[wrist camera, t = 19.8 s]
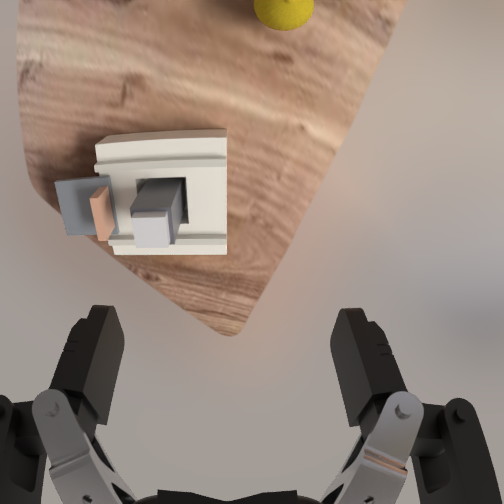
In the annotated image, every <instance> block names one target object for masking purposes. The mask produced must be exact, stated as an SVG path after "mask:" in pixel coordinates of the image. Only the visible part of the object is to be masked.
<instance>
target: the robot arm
mask: <svg viewBox="0 0 504 504" xmlns="http://www.w3.org/2000/svg"><path fill="white" fill-rule="evenodd" d="M388 344H389V343H388V340H387V338H386V336H385V333H384V331H383V330H382V329H381V328H380V327H379V326H378V325H377V324H376V323H375V321H371V322H368V321H367V318H366V316H365V313H364V311H363V309H362V308H345V309H341V310H340V311H339V314H338V317H337V320H336V323H335V326H334V329H333V332H332V335H331V340H330V347H331V353H332V357H333V361H334V365H335V369H336V372H337V377H338V381H339V384H340V389H341V393H342V397H343V401H344V405H345V409H346V413H347V417H348V422H349V426H350V427H353V426H359V425H360V429H361V434H360V435H359V437H358V439H357V441H356V443H355V445H354V447H353V449H352V450H351V452H350V454H349V456H348V458H347V459H346V461H345V463H344V465H343V467H342V468H341V470H340V472H339V474H338V475H337V476H336V478H335V479H334V481H333V482H332V483H331V484H330V486H329V487H328V489H327V490H326V492H325V493H324V495H323V496H322V498H321V499H320V501H317V500H314V499H311V498H308V497H304V496H298V495H297V490H293V491H281V492H267V493H260V494H257V495H253V496H249V497H245V498H241V499H237V500H233V501H222V500H218V499H214V498H209V497H206V496H202V495H199V494H195V493H191V492H177V491H167V490H158V493H157V494H158V495H154V496H150V497H146V498H143V499H140V500H137V498H136V497H135V495H134V494H133V492H132V491H131V489H130V488H129V487H128V485H127V484H126V483H125V482H124V480H123V479H122V478H121V477H120V475H119V474H118V472H117V471H116V469H115V467H114V466H113V464H112V462H111V460H110V459H109V457H108V455H107V453H106V452H105V450H104V448H103V446H102V444H101V443H100V441H99V439H98V437H97V435H96V434H95V430H96V425H97V424H102V425H107V421H108V416H109V411H110V406H111V401H112V397H113V392H114V388H115V383H116V379H117V375H118V370H119V366H120V362H121V358H122V354H123V350H124V334H123V331H122V328H121V325H120V322H119V319H118V316H117V313H116V310H115V308H114V306H105V305H93V306H92V308H91V310H90V312H89V315H88V317H87V319H84V318H81V319H80V320H79V321H78V322H77V323H76V324H75V325H74V326H73V327H72V329H71V331H70V334H69V336H68V339H67V342H66V344H65V346H64V349H63V350H64V351H63V352H62V354H61V357H60V359H59V362H58V365H57V368H56V370H55V373H54V377H53V379H52V382H51V385H50V387H49V389H48V390H45V391H43V392H41V393H40V394H39V395H37V397H36V398H35V400H34V401H27V402H19V403H12V402H11V401H10V400H9V399H8V398H7V397H6V396H4V395H0V504H41V496H42V486H43V478H44V471H45V465H46V458H47V455H48V457H49V460H50V462H51V468H50V469H49V473H50V477H51V479H52V481H53V484H54V486H55V488H56V490H57V492H58V494H59V496H60V498H61V500H62V502H63V504H395V502H396V500H397V498H398V496H399V494H400V492H401V489H402V487H403V485H404V483H405V480H406V477H407V473H408V471H407V469H405V465H406V462H407V460H408V457H409V456H411V458H412V463H413V467H414V472H415V477H416V482H417V487H418V493H419V498H420V504H502V500H501V496H500V491H499V487H498V483H497V479H496V475H495V471H494V467H493V464H492V461H491V457H490V453H489V450H488V447H487V444H486V440H485V437H484V434H483V431H482V428H481V425H480V422H479V419H478V417H477V414H476V411H475V409H474V407H473V405H472V404H471V403H469V402H468V401H467V400H465V399H462V398H455V399H452V400H451V401H449V402H448V403H447V404H446V405H445V406H442V405H433V404H425V403H422V402H421V401H420V400H419V399H418V398H417V397H416V396H415V395H413V394H412V393H409V392H408V391H407V389H406V386H405V384H404V381H403V378H402V376H401V373H400V371H399V368H398V365H397V363H396V360H395V358H394V355H392V350H391V348H390V346H389V345H388Z"/></svg>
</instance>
